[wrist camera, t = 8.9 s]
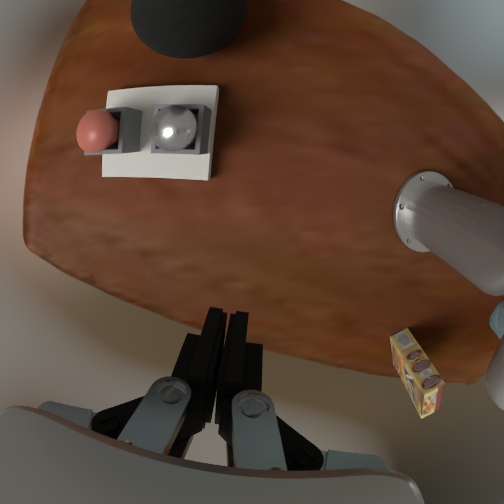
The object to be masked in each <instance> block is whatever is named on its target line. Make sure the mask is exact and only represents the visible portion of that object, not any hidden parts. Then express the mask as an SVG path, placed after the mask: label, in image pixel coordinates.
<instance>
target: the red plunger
mask: <svg viewBox="0 0 504 504" xmlns="http://www.w3.org/2000/svg"><path fill="white" fill-rule="evenodd" d="M119 129H120V118H116V117H113V116H112V115H111V114H110V113H109V112H107V111H104V110H92V111H90V112H88V113H87V114H85V115H84V116H83V118H82V119H81V121H80V122H79V125H78V128H77V141H78V144H79V146H80V147H81V149H83V150H84V151H85V152H88V153H95V152H101V151H103V150H105V149H106V148H107V147H108V146H118V143H119Z"/></svg>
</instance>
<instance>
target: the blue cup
mask: <svg viewBox="0 0 504 504" xmlns="http://www.w3.org/2000/svg"><path fill="white" fill-rule="evenodd" d="M489 324H490V327H491V328H492V330H493V331H494V332H495V333H496V334H497V336H498V337H499V338H500V340H501V338H502V336H503V334H504V300H502V301H501V302H500V303H499V304H498V305H497V307H496V308H495V309H494V311H493V313H492V315H491V318H490V322H489Z"/></svg>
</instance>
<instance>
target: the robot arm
mask: <svg viewBox="0 0 504 504" xmlns="http://www.w3.org/2000/svg"><path fill="white" fill-rule="evenodd" d="M399 206H400V207H399ZM393 216H394V225H395V229H396V232H397V234H398V237H399V238H400V239H401V241H402V242H403V243H404V244H405V245H406V246H407V247H409V248H410V249H412V250H414V251H417V252H428V251H432V252H433V253H434V254H436V255H437V256H439V257H440V258H441V259H442V260H444V261H445V262H446V263H448V264H449V265H450V266H452V267H453V268H454V269H455V270H457V271H458V272H459V273H460V274H462V275H463V276H464V277H465V278H467V279H468V280H469V281H470V282H472V283H473V284H474V285H475V286H477V287H478V288H479V289H480V290H482V291H483V292H485V293H487V294H490V295H494V296H499V295H504V206H502V205H499V204H497V203H494V202H492V201H489V200H486V199H484V198H481V197H478V196H475V195H473V194H470V193H467V192H464V191H461V190H458V189H455V188H453V186H452V184H451V183H450V182H449V180H448V179H447V178H446V177H444V176H443V175H441V174H439V173H437V172H433V171H421V172H418V173H416V174H414V175H412V176H411V177H410V178H409V179H408V180H407V181H406V182H405V183H404V184H403V186H402V187H401V189H400V190H399V193H398V195H397V198H396V201H395V205H394V214H393ZM248 315H249V313H248V312H240V311H236V314H231V315H230V320H229V325H228V330H227V335H226V340H225V345H224V339H225V329H226V319H227V313H224V312H223V309H220V308H213V307H210V308H209V311H208V314H207V317H206V320H205V323H204V326H203V330H202V333H201V335H195V334H190V333H188V334H187V336H186V338H185V341H184V343H183V346H182V349H181V351H180V354H179V357H178V359H177V362H176V364H175V367H174V370H173V373H172V375H171V377H163V378H160V379H158V380H156V381H155V382H154V383H153V384H152V386H151V387H150V389H149V390H148V392H147V393H146V395H145V396H143V397H140V398H137V399H135V400H132V401H129V402H126V403H124V404H120V405H117V406H114V407H111V408H108V409H105V410H103V411H100V412H98V413H95V412H93V411H92V410H90V409H85V408H80V407H75V406H70V405H66V404H61V403H57V402H53V401H47V402H44V403H42V404H41V405H40V406H39V407H38V408H33V407H29V406H9V407H7V408H5V409H3V410H2V411H1V412H0V504H424V501H423V498H422V495H421V493H420V491H419V489H418V487H417V485H416V484H415V482H414V481H413V480H412V479H411V478H410V477H408V476H406V475H404V474H401V473H398V472H395V471H390V470H387V466H386V463H385V461H384V460H383V459H382V458H381V457H379V456H377V455H372V454H359V453H350V452H341V451H334V450H328V452H326V451H320V450H319V449H318V448H317V447H316V446H315V445H314V444H312V443H311V442H310V441H308V440H307V439H306V438H304V437H303V436H302V435H300V434H299V433H298V432H297V431H295V430H294V429H293V428H291V427H290V426H289V425H288V424H286V423H285V422H284V421H283V420H282V419H280V418H279V417H278V416H276V413H275V408H274V404H273V401H272V399H271V398H270V397H269V396H268V395H266V394H265V393H263V392H261V388H262V355H263V345H262V344H255V343H247V342H246V334H247V324H248ZM486 385H487V389H488V392H489V394H490V396H491V398H492V399H493V401H494V402H495V403H496V404H497V405H498V406H499V407H500V408H501V409H502V410H504V334H503V336H502V338H501V341H500V343H499V345H498V347H497V349H496V351H495V353H494V355H493V357H492V359H491V361H490V364H489V366H488V370H487V375H486ZM216 392H217V396H216ZM215 397H217V398H216V411H215V424H219V431H218V434H219V435H220V436H221V437H222V438H223V439H224V440H225V441H226V452H227V453H226V454H227V466H220V465H213V464H206V463H201V462H195V461H191V460H185V459H184V458H185V455H186V453H187V451H188V449H189V446H190V444H191V442H192V439H193V435H194V434H196V433H198V432H200V431H202V429H204V427H205V423H206V422H207V423H210V422H211V418H212V413H213V407H214V402H215Z"/></svg>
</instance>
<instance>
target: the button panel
mask: <svg viewBox="0 0 504 504" xmlns="http://www.w3.org/2000/svg"><path fill="white" fill-rule="evenodd" d="M218 97H219V87H218V86H216V85H173V86H153V87H140V88H130V89H121V90H113V91H108V96H107V104H106V109H99V110H104V111H107V112H109V113H110V114H111V115H112V116H113V117H116V118H120V129H119V143H118V146H108V147H107V148H106V149H105V150H103V151H101V152H95V153H88V152H85V151H84V155H97V154H103V159H102V177H154V178H177V179H194V180H209V179H210V178H211V166H212V154H213V143H214V133H215V123H216V114H217V105H218ZM170 105H180V106H183V107H185V108H187V109H189V110H190V111H191V112H192V113H193V114H194V115H195V117H196V119H197V120H198V131H197V135H196V142H195V143H193V144H191V145H189V146H187V147H186V148H184V149H182V150H179V151H165V150H162V149H160V148H159V147H157V146H156V145H155V143H154V142H153V140H152V138H151V135H150V125H151V122H152V119H153V118H154V116H155V115H156V113H157V112H158V111H160V110H161V109H162V108H164V107H166V106H170ZM88 112H90V111H87V113H88Z"/></svg>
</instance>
